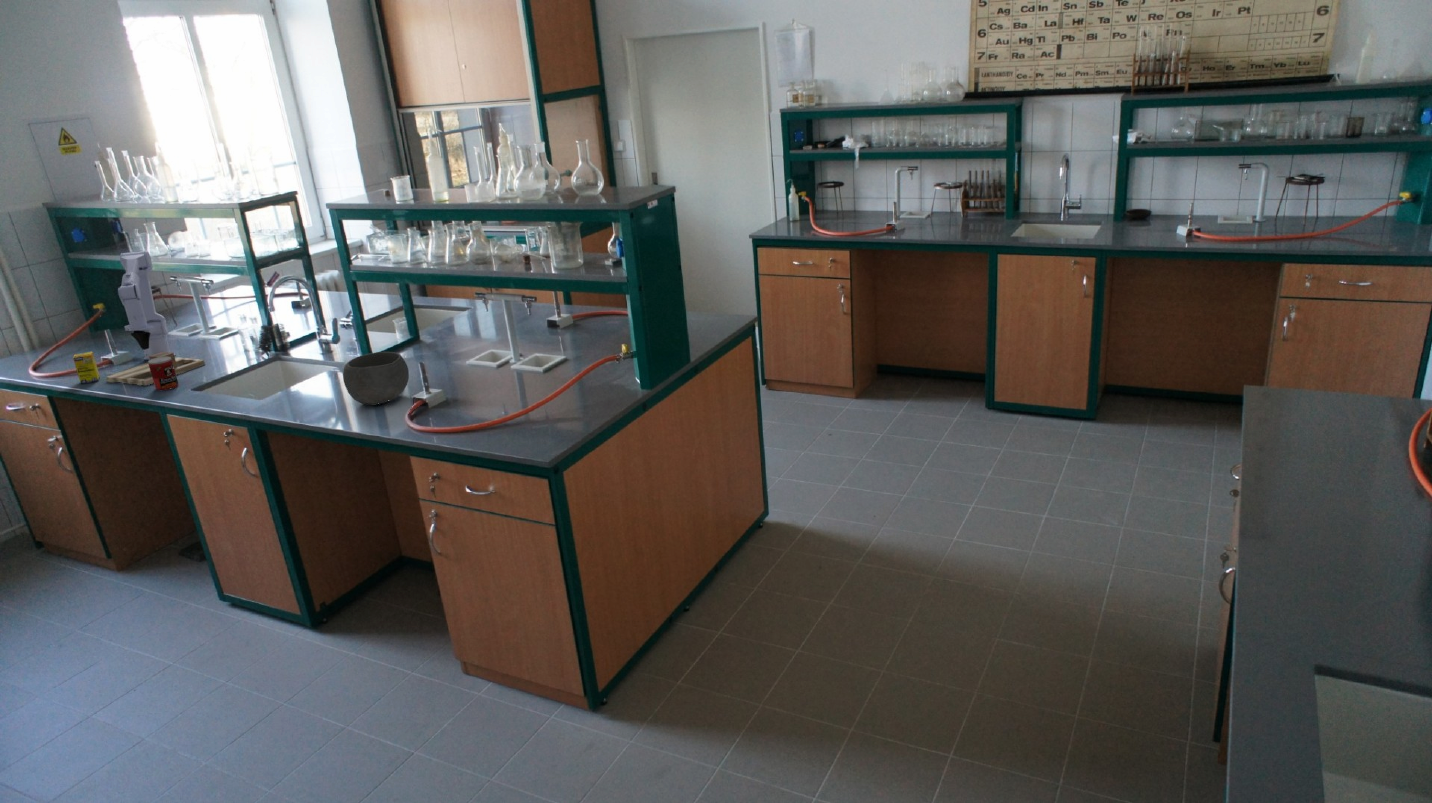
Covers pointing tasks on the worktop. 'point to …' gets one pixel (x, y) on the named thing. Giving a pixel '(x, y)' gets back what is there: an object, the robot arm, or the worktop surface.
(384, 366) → the bowl
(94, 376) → the supplement box
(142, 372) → the trap deck
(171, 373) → the canned food
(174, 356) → the walnut block
